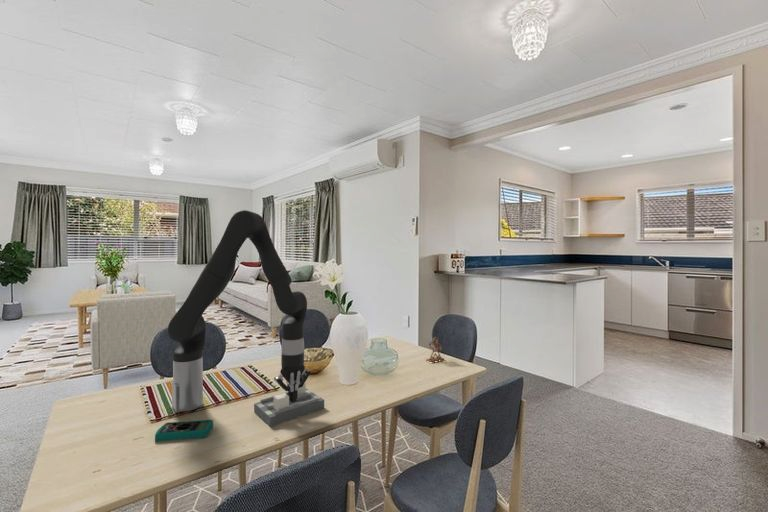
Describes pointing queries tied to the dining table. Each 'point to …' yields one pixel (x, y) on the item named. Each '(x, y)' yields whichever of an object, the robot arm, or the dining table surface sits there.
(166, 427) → the digital multimeter
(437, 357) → the brown irregular upright piece
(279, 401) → the tab front
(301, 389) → the tab back
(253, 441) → the dining table surface
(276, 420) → the switch panel
